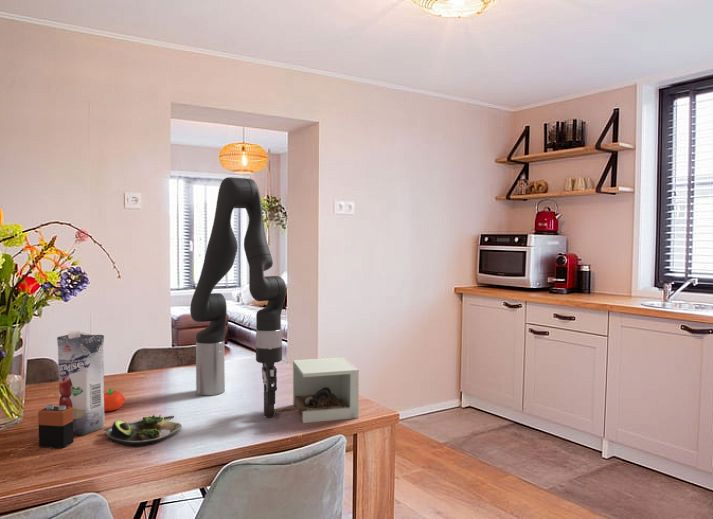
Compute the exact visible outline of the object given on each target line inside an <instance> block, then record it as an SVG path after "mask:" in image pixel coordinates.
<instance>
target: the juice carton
mask: <svg viewBox="0 0 713 519" xmlns="http://www.w3.org/2000/svg"><path fill="white" fill-rule="evenodd" d="M104 339H105V335H103V334H89V333H85V332H81V331H80V330H73V331H69V332H67V334H65V335H60V336H57V337H56V340H57V355H58V356H57V359H58V360H57V363H58V364H57V367H58V370H57V371H58V407H59V406H66V407H72V408H73V435H77V436H81V437H82V436H85V435H88V434H91V433H93V432H95V431H99V430H101V429H102V430H103V429H104V427H105V411H104V394H105V385H104V384H105V380H104V379H105V377H104V376H105V373H104V371H105V370H104Z"/></svg>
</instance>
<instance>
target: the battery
mask: <svg viewBox="0 0 713 519" xmlns="http://www.w3.org/2000/svg"><path fill="white" fill-rule="evenodd" d="M44 407H45V408H42V409H40V410H39V411H38V412H37V414H38V418H37V421H38V446H39V448H50V447H53V449H64V448H66V447H68V446H70V445H71V444H73V443H74V434H73V408H72V407H66V406H59V405H58V406H56V405H55V404H54V403H50V404H49V403H48V404H45V405H44ZM67 445H68V446H67Z"/></svg>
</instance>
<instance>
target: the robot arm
mask: <svg viewBox="0 0 713 519" xmlns="http://www.w3.org/2000/svg"><path fill="white" fill-rule="evenodd" d="M234 209H245V211H246V213H247V216H248V225H247V227H246V228H247V229H246V231H245V235H244V240H243V250H244V253H245V258H246V260H247V264H248V270H249V272H248V276H249V277H248V280H249V282H248V283H249V285H248V288H249V289H248V290H249V293H250V296H251V297H252V299H254V300H255V301H257V302H266V301H267V304H266V306H264V307H263V308H260V309H259V310H258V311H256V318H255V319H256V321H255V322H256V328H255V330H256V331H255V333H256V334H255V361H256V362H257V363H258V364H262V366H261V378H262V383H263V392H264V391H267V403H268V405H274V406H275V405H276V391H277V390H278V387H277V386H278V385H277V382H278V379H277V373H278V368H276V366H275V363H280V362H281V361H282V360H283V338H282V337H283V336H282V320H281V319H282V317H281V315H282V311H283V308H284V304H285V300H286V296H287V285H286V282H285V280H284V278H283V277H281V276H279V275H271V276H265V274H264V272H266V271H268V270H269V269H271V268H272V267H273V265H274V262H273V257H272V254H271V251H270V247H269V244H268V240H267V237H266V232H265V224H264V216H263V210H262V200H261V194H260V188H259V186H258V184H257V182H256V181H255V180H254V179H251V178H247V177H225V178H223V180H222V181H221V183H220V184H219V188H218V193H217V199H216V207H215V213H214V218H213V219H214V220H213V225H212V228H211V233H210V236H209V240H208V243H207V246H206V250H205V255H204V260H203V264H202V268H201V272H200V275H199V278H198V282H197V285H196V287H195V290H194V292H193V296H192V298H191V301H190V307H189V309H190V310H189V311H190V313H189V314H190V317H191V319H192V320H193V322H196V323H207V322H209V324H208V325H207V327H205V328H203V329H201V330H200V331H198V332H196V335H195V348H196V349H195V354H196V355H195V356H196V358H195V365H196V366H195V372H196V373H195V374H196V375H195V379H196V380H195V383H196V384H195V385H196V387H195V388H196V391H195V395H197V396H214V395H215V396H216V395H220V394H223V393H224V392H225V391H226V389H225V388H226V387H225V386H226V385H225V384H226V381H225V380H226V376H225V375H226V374H225V368H226V367H225V364H226V363H225V361H226V360H225V336H226V331H227V311H228V310H227V309H228V308H227V307H228V306H227V302H226V297H225V296H224V295H223V294H222V293H219V292H216V293H215V292H214V293H212V292H213V290H214V289H215V287H216V286H217V284H219V282H220V281H221V280H222V279H223V278H224V277H225V276H226V275H227V274H228V273H229V272H230V271H231V269H232V267H233V266H234V263H235V259H236V257H237V254H238V241H237V238H236V236H235V234H234V230H233V227H232V216H233V215H232V214H233V211H234ZM272 385H273V386H272Z"/></svg>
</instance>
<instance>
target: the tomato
mask: <svg viewBox="0 0 713 519" xmlns="http://www.w3.org/2000/svg"><path fill="white" fill-rule="evenodd" d="M125 402H126V397H125V396H124V394H122V393H121V392H120V391H118V390H117V391H116V390H115V391H114V390H112V388H108V392H104V412H113V411H117V410H119V409H120V408H121V407H123V405H124V404H125Z"/></svg>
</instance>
